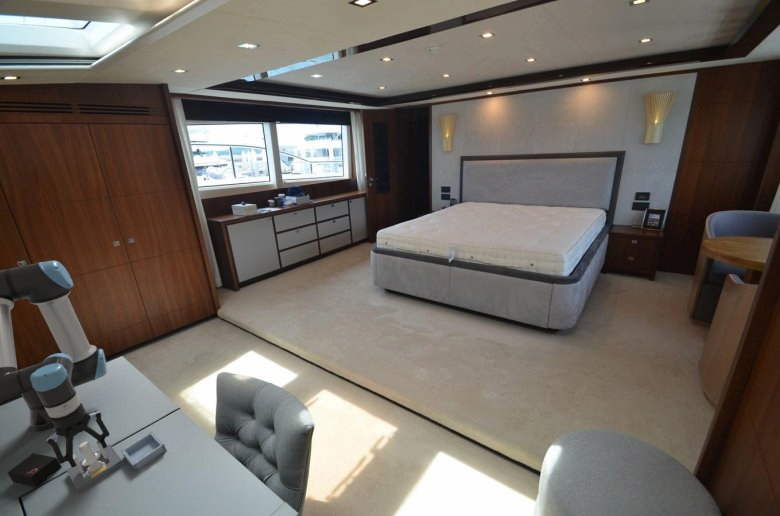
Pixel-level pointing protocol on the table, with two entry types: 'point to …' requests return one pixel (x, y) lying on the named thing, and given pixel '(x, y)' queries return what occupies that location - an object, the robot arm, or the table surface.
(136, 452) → the tray
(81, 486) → the socket panel
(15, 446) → the table surface
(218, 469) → the table surface
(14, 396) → the robot arm
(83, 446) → the white cylindrical piece
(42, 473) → the electronic device
